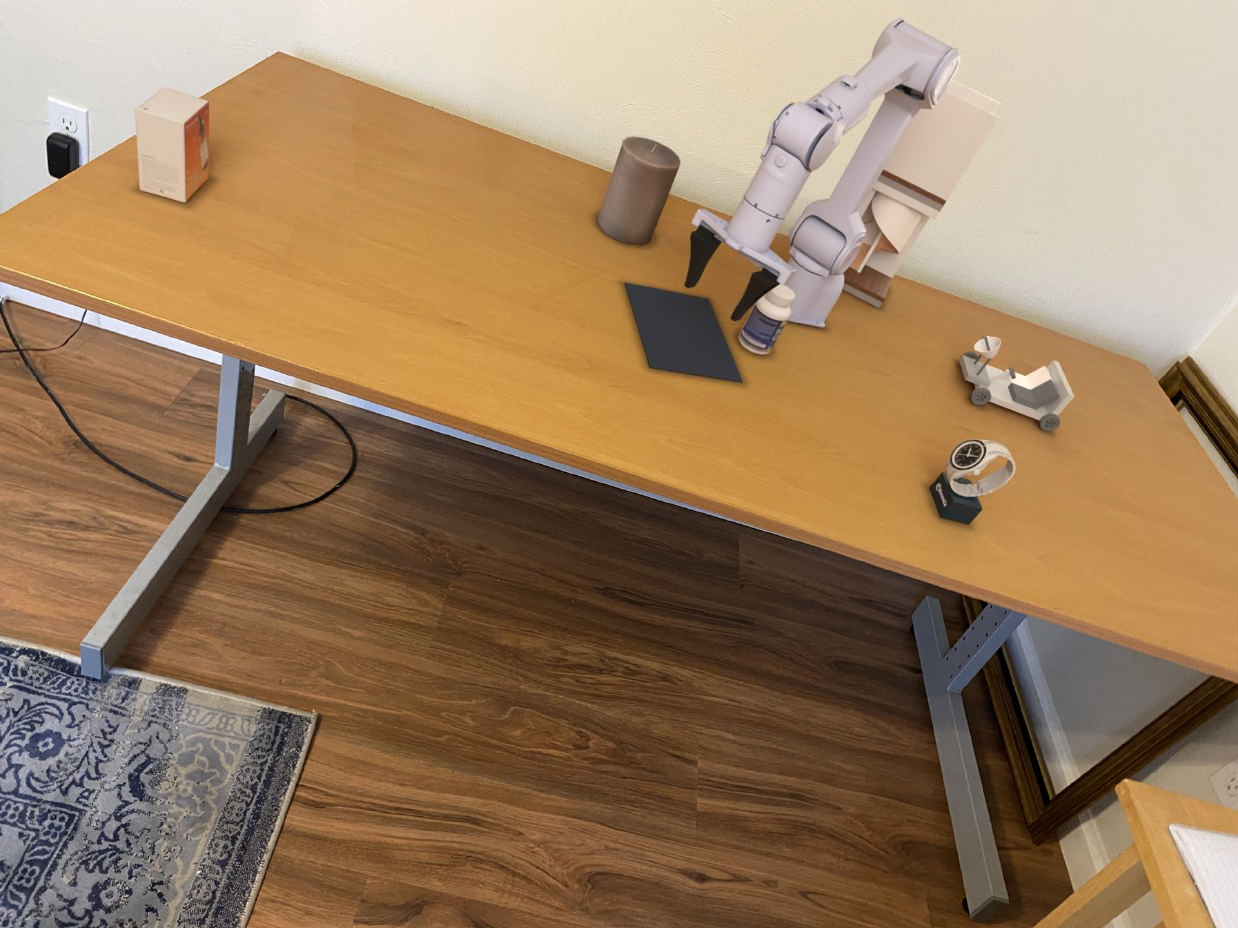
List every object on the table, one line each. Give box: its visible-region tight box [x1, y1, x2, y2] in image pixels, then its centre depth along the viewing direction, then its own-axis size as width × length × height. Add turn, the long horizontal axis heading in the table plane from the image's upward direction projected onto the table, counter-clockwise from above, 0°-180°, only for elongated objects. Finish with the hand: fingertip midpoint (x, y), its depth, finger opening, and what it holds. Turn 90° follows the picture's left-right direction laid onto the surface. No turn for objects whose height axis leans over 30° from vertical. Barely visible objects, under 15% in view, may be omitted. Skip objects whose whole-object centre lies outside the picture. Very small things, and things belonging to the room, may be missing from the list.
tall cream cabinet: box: [842, 79, 1002, 309], centre depth 142 cm, size 11×11×35 cm
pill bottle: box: [738, 284, 795, 356], centre depth 122 cm, size 5×5×10 cm
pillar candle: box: [597, 135, 681, 246], centre depth 134 cm, size 10×10×15 cm
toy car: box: [958, 335, 1075, 432], centre depth 136 cm, size 18×10×12 cm
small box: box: [134, 86, 210, 204], centre depth 104 cm, size 8×6×10 cm
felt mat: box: [624, 281, 744, 384], centre depth 121 cm, size 14×20×1 cm
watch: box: [928, 438, 1017, 526], centre depth 108 cm, size 6×8×11 cm
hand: (712, 302), depth 108 cm, fingers open, 7 cm apart
